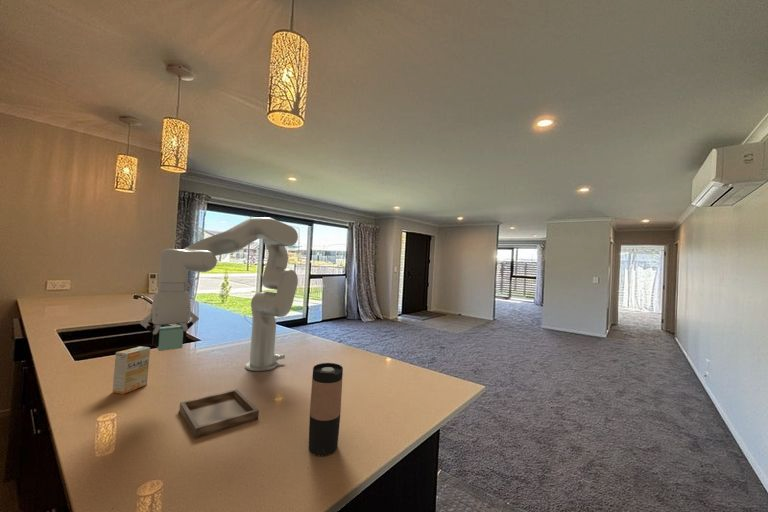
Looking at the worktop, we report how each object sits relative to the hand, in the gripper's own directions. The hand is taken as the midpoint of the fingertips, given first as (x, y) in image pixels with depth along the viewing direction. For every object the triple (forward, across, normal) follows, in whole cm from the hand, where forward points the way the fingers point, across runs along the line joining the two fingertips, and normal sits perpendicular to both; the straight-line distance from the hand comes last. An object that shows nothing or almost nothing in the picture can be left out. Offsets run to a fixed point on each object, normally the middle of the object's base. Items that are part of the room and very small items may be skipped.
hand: (169, 344), depth 98 cm
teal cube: (+1, 0, 0) cm, 1 cm away
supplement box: (+18, +7, -15) cm, 24 cm away
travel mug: (+18, -25, +52) cm, 60 cm away
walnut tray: (+17, -10, +20) cm, 28 cm away
